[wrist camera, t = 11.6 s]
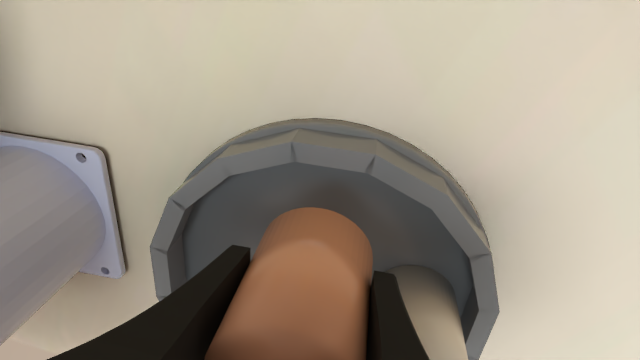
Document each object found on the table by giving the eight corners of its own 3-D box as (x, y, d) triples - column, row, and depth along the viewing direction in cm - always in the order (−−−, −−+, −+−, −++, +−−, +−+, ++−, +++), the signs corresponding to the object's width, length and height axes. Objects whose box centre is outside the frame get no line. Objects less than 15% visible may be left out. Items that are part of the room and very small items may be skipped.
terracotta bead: (268, 292, 15) (218, 422, 11) (255, 204, 13) (189, 318, 9) (372, 301, 15) (363, 442, 10) (373, 210, 13) (363, 336, 8)
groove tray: (184, 343, 25) (164, 378, 23) (160, 93, 17) (126, 111, 15) (442, 396, 23) (447, 440, 21) (539, 149, 16) (564, 177, 13)
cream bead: (363, 318, 20) (355, 414, 16) (378, 257, 18) (374, 347, 14) (442, 335, 20) (457, 438, 15) (466, 274, 18) (490, 373, 13)
